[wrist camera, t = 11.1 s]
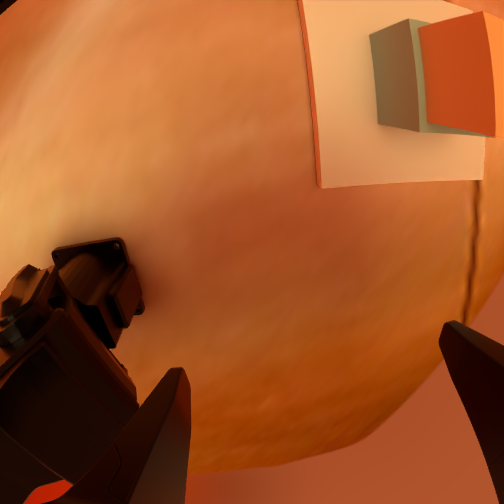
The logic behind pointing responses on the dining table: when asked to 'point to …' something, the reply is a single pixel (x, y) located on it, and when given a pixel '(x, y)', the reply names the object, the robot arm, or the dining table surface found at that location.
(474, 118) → the orange block
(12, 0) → the dark piece
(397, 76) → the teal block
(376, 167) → the base plate
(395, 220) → the dining table surface
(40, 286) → the robot arm
